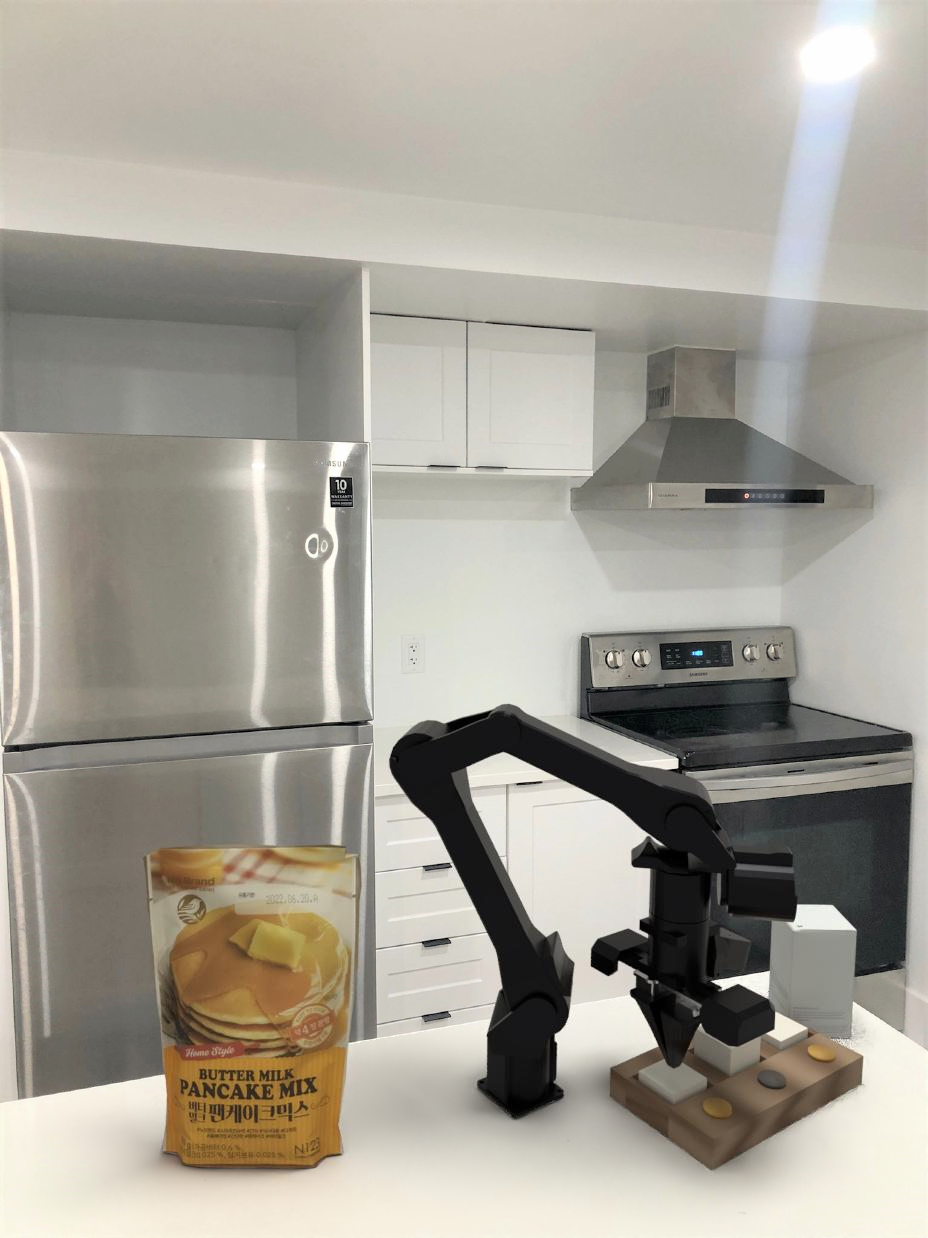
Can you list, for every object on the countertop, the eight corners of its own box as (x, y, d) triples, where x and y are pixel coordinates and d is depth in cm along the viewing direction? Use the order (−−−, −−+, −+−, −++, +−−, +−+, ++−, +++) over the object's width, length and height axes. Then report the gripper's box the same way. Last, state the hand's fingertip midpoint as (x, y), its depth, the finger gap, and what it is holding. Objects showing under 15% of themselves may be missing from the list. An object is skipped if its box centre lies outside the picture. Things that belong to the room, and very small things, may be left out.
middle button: (729, 1080, 93) (730, 1049, 92) (693, 1058, 96) (694, 1028, 96) (759, 1064, 95) (760, 1035, 95) (723, 1044, 99) (724, 1015, 99)
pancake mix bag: (162, 1121, 89) (155, 835, 86) (363, 1124, 89) (362, 838, 86) (137, 1171, 82) (128, 862, 79) (354, 1173, 82) (354, 865, 79)
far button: (779, 1071, 98) (780, 1041, 97) (743, 1050, 101) (744, 1022, 101) (806, 1056, 100) (808, 1028, 100) (770, 1037, 104) (771, 1009, 104)
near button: (673, 1126, 88) (674, 1094, 88) (637, 1101, 92) (638, 1071, 92) (705, 1109, 91) (707, 1078, 91) (670, 1085, 95) (671, 1056, 94)
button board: (712, 1170, 83) (713, 1134, 83) (609, 1096, 94) (610, 1064, 93) (861, 1083, 96) (863, 1052, 96) (756, 1027, 107) (758, 998, 106)
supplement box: (853, 1039, 104) (859, 931, 103) (786, 1038, 105) (791, 929, 103) (828, 1005, 112) (834, 903, 110) (766, 1004, 112) (771, 902, 111)
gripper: (816, 926, 86) (808, 1086, 88) (665, 864, 102) (660, 1001, 103) (737, 957, 80) (730, 1129, 82) (588, 886, 95) (585, 1032, 97)
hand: (673, 1066), depth 91 cm, fingers closed
